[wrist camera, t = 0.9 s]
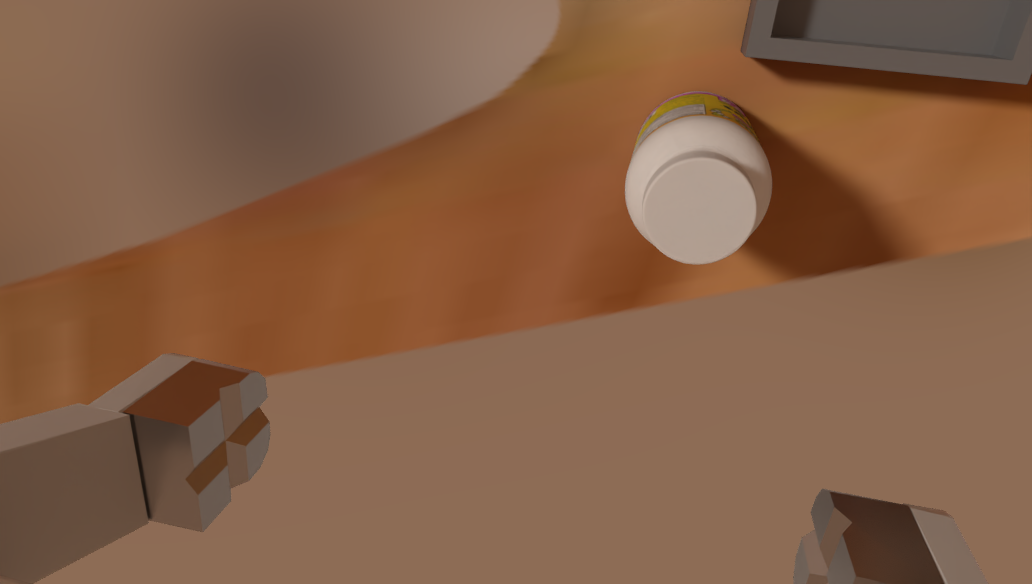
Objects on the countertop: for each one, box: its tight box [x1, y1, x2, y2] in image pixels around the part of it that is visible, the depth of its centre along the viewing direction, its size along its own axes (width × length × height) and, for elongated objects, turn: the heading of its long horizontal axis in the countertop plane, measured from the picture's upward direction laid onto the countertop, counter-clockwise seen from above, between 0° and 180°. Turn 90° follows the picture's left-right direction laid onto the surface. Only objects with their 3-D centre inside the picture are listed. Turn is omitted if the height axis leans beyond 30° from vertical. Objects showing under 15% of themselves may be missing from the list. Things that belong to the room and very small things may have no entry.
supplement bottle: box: [625, 91, 772, 264], centre depth 34 cm, size 7×7×13 cm
